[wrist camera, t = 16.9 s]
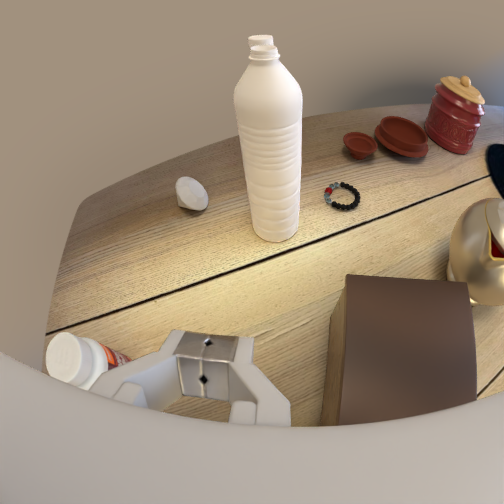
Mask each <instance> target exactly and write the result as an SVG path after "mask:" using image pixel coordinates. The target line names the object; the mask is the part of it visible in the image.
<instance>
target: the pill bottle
mask: <svg viewBox="0 0 504 504" xmlns="http://www.w3.org/2000/svg"><path fill="white" fill-rule="evenodd" d="M130 361H132V360H131V359H130V358H129V357H127V356H125V355H123V354H121V353H119V352H117V351H115V350H112V349H110V348H108V347H106V346H104V345H102V344H101V343H99V342H97V341H95V340H93V339H90V338H87V337H81V338H79V337H77V336H75V335H73V334H71V333H68V332H62V333H59V334H57V335H56V336H55V337H54V338H53V339H52V340H51V342H50V343H49V345H48V348H47V351H46V366H47V370H48V372H49V374H50V375H51V377H53V378H56V379H58V380H61V381H63V382H66V383H68V384H71V385H73V386H76V387H78V388H81V389H84V390H87V391H88V390H89V388H90V387H91V386H92V385H93V383H94V382H95V381H96V380H97V378H98V377H99V376H100V375H101V373H103V372H106V371H108V370H111V369H113V368H116V367H118V366H121V365H123V364H126V363H128V362H130Z"/></svg>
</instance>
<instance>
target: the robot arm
mask: <svg viewBox="0 0 504 504" xmlns="http://www.w3.org/2000/svg"><path fill="white" fill-rule="evenodd" d="M253 355H254V337H239V336H223V335H213V334H206V333H198V332H191V331H184V330H176V329H174V330H172V331H171V332H170V334H169V335H168V337H167V338H166V340H165V341H164V343H163V344H162V346H161V347H160V349H159V351H158V352H152V353H149V354H147V355H145V356H142V357H140V358H138V359H135V360H133V361H130V362H128V363H126V364H123V365H121V366H118V367H116V368H113V369H111V370H108V371H106V372H103V373H101V375H100V376H99V377H98V378H97V380H96V381H95V382H94V383H93V385H92V386H91V387H90V388H89V390H88V391H87V390H84V389H81V388H78V387H76V386H73V385H71V384H68V383H66V382H63V381H61V380H58V379H56V378H53V377H51V376H49V375H47V374H44V373H42V372H40V371H38V370H36V369H33V368H32V367H29V366H27V365H25V364H23V363H21V362H19V361H17V360H16V359H14V358H12V357H10V356H8V355H6V354H4V353H3V352H1V351H0V504H504V391H501V392H499V393H496V394H493V395H490V396H488V397H485V398H482V399H479V400H476V401H473V402H469V403H466V404H463V405H459V406H456V407H452V408H448V409H444V410H440V411H436V412H432V413H427V414H423V415H418V416H412V417H407V418H401V419H395V420H388V421H381V422H373V423H364V424H354V425H340V426H320V427H291V414H290V402H289V401H288V400H287V399H286V398H285V397H284V395H283V394H282V393H281V392H280V391H279V390H278V389H277V388H276V387H275V386H274V385H273V384H272V383H271V382H270V380H269V379H268V378H267V377H266V376H265V375H264V374H263V373H262V372H261V371H260V369H259V368H258V367H257V366H256V365H255V364H253ZM182 395H184V396H191V397H199V398H207V399H213V400H220V401H228V402H229V403H230V405H231V411H230V416H229V420H228V423H226V422H218V421H210V420H203V419H197V418H191V417H185V416H180V415H174V414H169V413H164V412H162V411H163V410H164V409H166V408H167V407H169V406H170V405H171V404H173V403H174V402H175V401H177V400H178V399H179V398H181V397H182Z"/></svg>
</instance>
